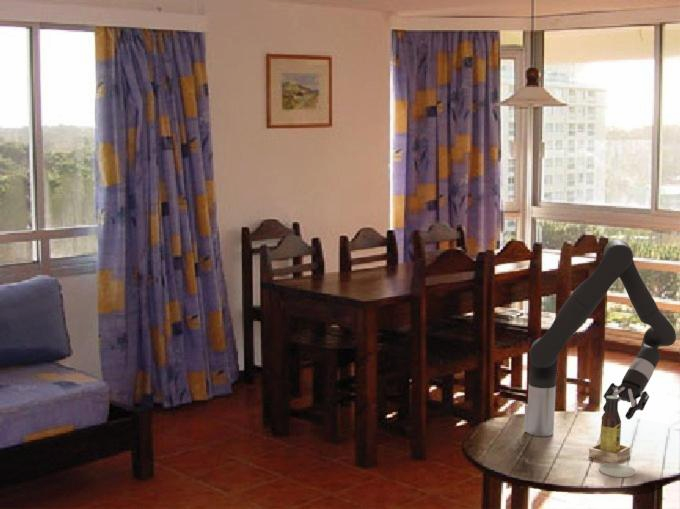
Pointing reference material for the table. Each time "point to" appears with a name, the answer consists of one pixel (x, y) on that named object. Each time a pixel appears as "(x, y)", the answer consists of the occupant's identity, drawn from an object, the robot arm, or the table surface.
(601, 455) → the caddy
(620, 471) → the trivet
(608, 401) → the sauce bottle
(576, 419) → the table surface
